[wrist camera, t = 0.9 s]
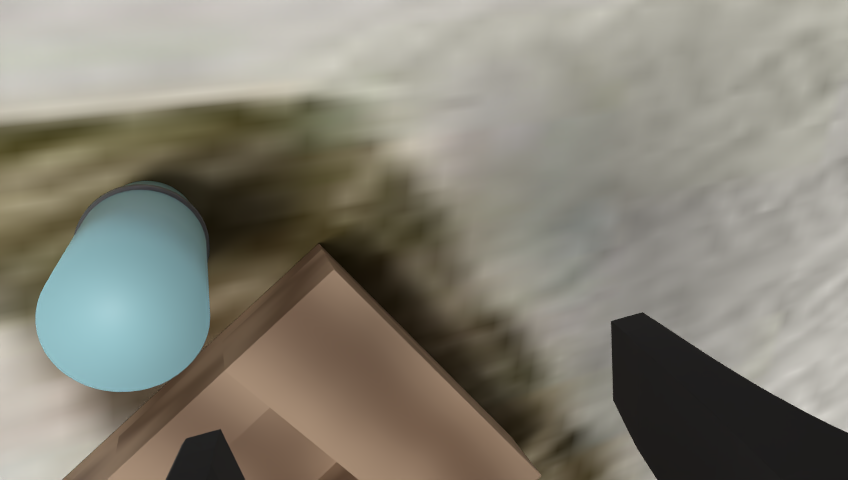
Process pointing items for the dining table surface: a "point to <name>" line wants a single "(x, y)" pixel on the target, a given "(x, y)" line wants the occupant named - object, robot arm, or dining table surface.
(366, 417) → the board
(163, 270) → the peg
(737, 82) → the dining table surface
